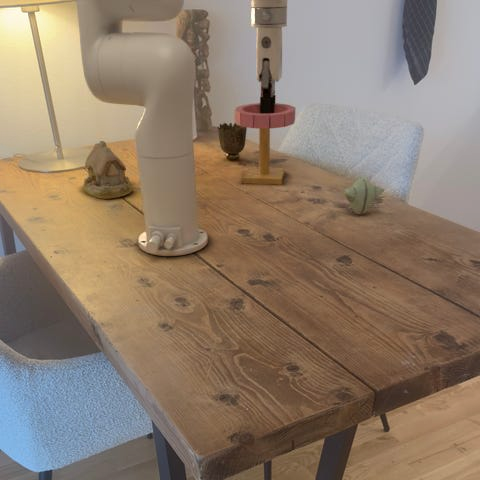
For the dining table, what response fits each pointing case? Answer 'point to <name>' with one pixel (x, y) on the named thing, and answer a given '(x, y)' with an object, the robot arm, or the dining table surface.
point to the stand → (264, 164)
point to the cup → (232, 140)
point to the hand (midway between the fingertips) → (267, 115)
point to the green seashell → (362, 195)
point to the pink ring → (264, 116)
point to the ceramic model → (105, 174)
